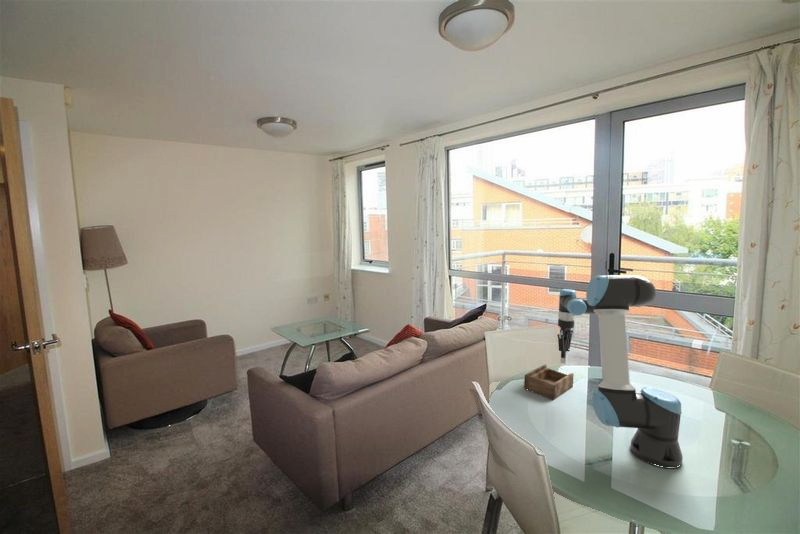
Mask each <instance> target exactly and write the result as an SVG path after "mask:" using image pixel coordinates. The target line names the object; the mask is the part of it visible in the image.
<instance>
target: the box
mask: <svg viewBox="0 0 800 534" xmlns="http://www.w3.org/2000/svg"><path fill="white" fill-rule="evenodd" d="M574 373H575V372H574ZM574 373H570V374H568V375H567V374H564V373H561V372H558V370H554V369H551V368H550V367H547V364H546V363H545V364H543V365H541V366H538V367H537V368H535V369H533V370H531V371H529V372H527V373H525V374H524V380H523V381H524V382H523V384H524V385H523V389H524V388H525V389H524V390H526V389H528V390H527V391H529V390H530V391H529V392H531V391H533V392H532V393H534V392H535V393H534V394H536V393H537V395H539V394H540V395H539V396H541V395H542V397H544V398H548V399H550V400H553V401H554V400H556V399H558V398H559V397H561V396H562V395H564V394H565V393H566V392H567V391H569V390H571V389H573V387H574V384H573V376H574Z"/></svg>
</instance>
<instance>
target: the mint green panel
mask: <svg viewBox="0 0 800 534" xmlns="http://www.w3.org/2000/svg"><path fill="white" fill-rule="evenodd" d="M560 369H561V370H566V371H568V370H567V369H563V368H560ZM581 375H582V374H580V375H579V376H578V375H574V376H573V385H574V384H575V383H576V382H578V381H580V380H581V379H582V378H584V377H583V376H581ZM580 378H581V379H580Z"/></svg>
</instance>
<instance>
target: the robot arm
mask: <svg viewBox="0 0 800 534" xmlns="http://www.w3.org/2000/svg"><path fill="white" fill-rule="evenodd" d="M558 297H559V298H558V299H559V301H558V315H557V317H558V319H557V320H558V321H557V326H558V327H560V329H559V333H557V339H558V341H557V342H558V344H557V345H558V351H560V362H559V363H560V364H563V365H567V364H568V352H570V349H571V344H572V343H571V342H572V338H573V334H574V330H573V328H574V327H575V317H576V316H582V315H585V314H586V315H591V314H594V315H595V314H596V315H597V316H598V331H599V332H598V333H599V335H598V336H599V347H600V348H599V350H600V367H601V382H600V383H599V384H598V385H597V389H598V390H595V391H593V392H592V397H591V398H592V399H591V400H592V406H593V410H594V413H595V415H596V417H597V419H598V420H599V422H600V423H601V424H602V425H604V426H606V427H607V426H608V427H615V428H628V429H636V431H635V433H634V434H633V436H632V438H631V439H630V447H629V448H630V451H631V452H632V453H633V454H634V455H635V456H636V457H637V458H639V459H640V460H641V459H642V460H641V461H643V460H644V461H643V462H645V461H646V462H645V463H647V462H649V463H652V464H656V465H659V466H663V467H677V466H679V465H681V464H683V457H684V456H683V453H682V450H681V446H680V443H679V432H680V426H681V425H680V424H681V415H682V402H681V401H680V399H679V398H678V397H677V396H675V395H674V394H671V393H670V392H667V391H666V390H663V389H659V388H655V387H650V386H646V387H642V388H641V390H640V392H637V391H636V390H637V389H636V387H634V386H633V385H632V384H631V378H630V366H629V355H628V354H629V352H628V343H627V342H628V341H627V340H628V339H627V331H626V330H627V328H626V327H627V326H626V315H627V314H628V313H630V308H631V307H634V308H640V307H641V308H642V307H645V306H649V305H650V304H651V303H652V302H654V301H655V299H656V297H657V290H656V287H655V285H654V283H652V281H650V280H649V279H647V278H646V277H643V276H640V275H623V274H621V275H618V274H617V275H616V274H603V275H594V276H593V277H592V278H590V280H589V282H588V284H587V288H586V296H585V297H577V292H576V290H575V289H572V288H571V289H570V288H563V289H560V290H559V296H558ZM649 463H648V464H649ZM681 466H682V465H681Z"/></svg>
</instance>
